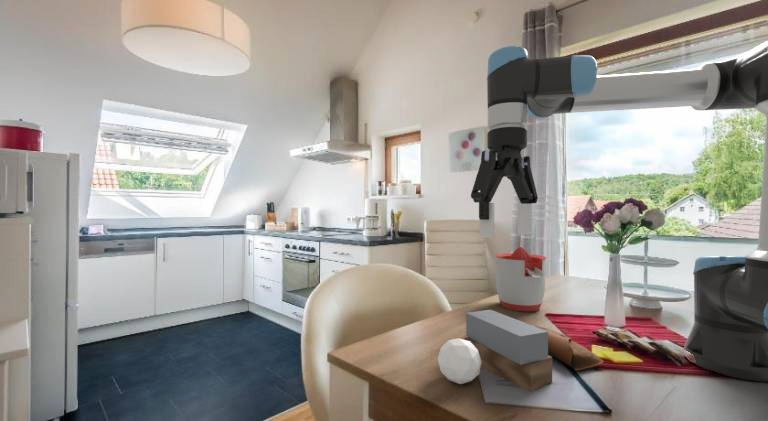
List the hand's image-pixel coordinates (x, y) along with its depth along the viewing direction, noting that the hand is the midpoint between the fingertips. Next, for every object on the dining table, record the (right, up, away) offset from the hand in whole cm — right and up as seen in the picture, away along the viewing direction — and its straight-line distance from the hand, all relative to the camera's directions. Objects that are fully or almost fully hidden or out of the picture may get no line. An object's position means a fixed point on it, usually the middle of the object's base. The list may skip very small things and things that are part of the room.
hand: (506, 236), depth 72 cm
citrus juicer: (+20, -27, +46) cm, 57 cm away
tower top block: (-1, -22, 0) cm, 22 cm away
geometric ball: (-10, -27, -5) cm, 29 cm away
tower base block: (0, -27, 0) cm, 27 cm away
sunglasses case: (+16, -27, +9) cm, 33 cm away
